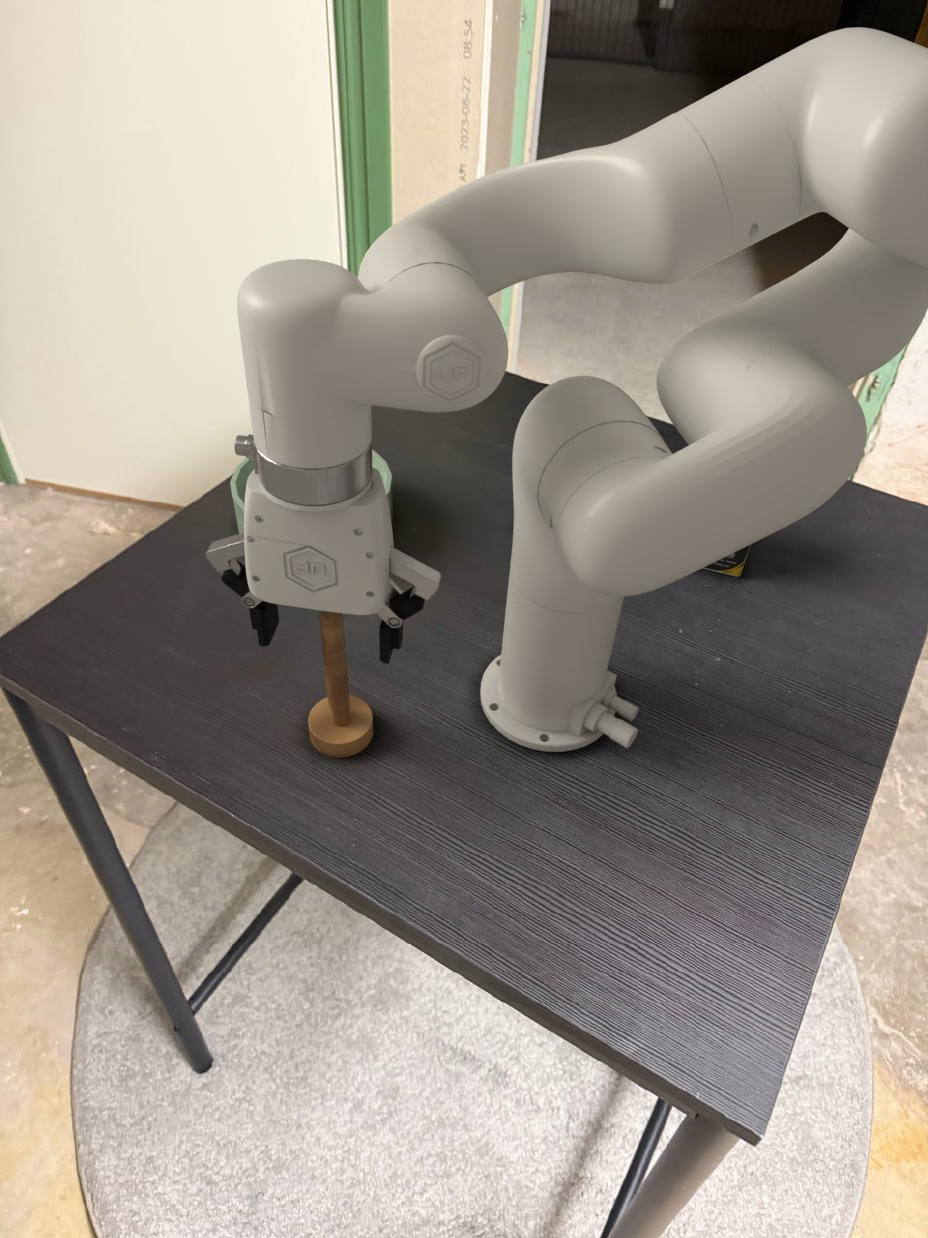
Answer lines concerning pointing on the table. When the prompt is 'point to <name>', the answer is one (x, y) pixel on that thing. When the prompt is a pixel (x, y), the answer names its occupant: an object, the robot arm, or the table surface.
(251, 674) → the table surface
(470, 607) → the table surface
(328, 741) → the wooden mushroom stand
